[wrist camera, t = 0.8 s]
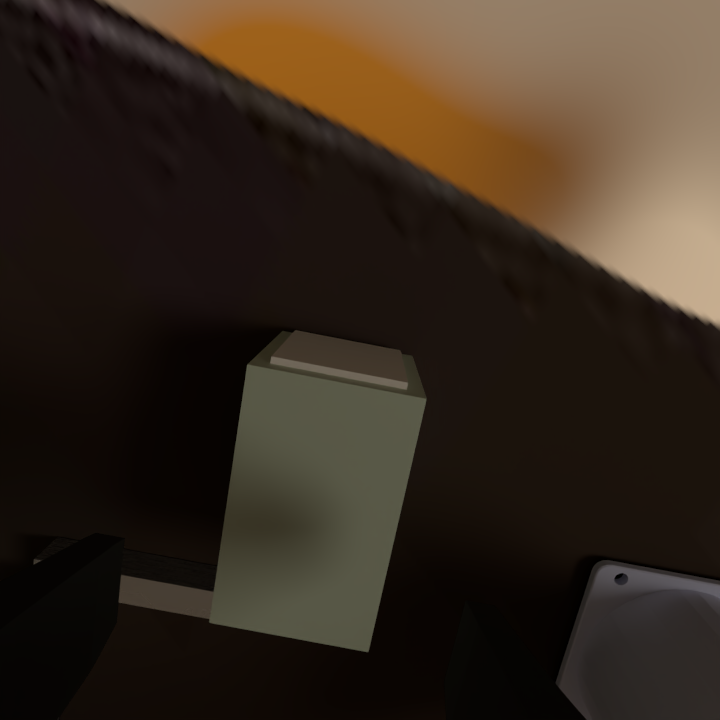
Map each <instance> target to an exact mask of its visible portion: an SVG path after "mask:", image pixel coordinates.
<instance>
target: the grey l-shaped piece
mask: <svg viewBox="0 0 720 720" xmlns="http://www.w3.org/2000/svg"><path fill="white" fill-rule="evenodd" d="M76 542H78V541H76V540H71V539H65V538H60V537H57V538H56V539H55V540H54V541H53V542H52V543H51V544H50V545H49V546H48V547H46V548H45V549H44V550H43V551H42V552H41V553H40V554H39V555H38V556H37V557H36V558H35V559H34V564H36V563H38V562H40V561H42V560H44V559H46V558H48V557H49V556H51V555H53V554H55V553H57V552H59V551H61V550H63V549H65V548H66V547H68V546H70V545H72V544H74V543H76ZM216 573H217V566H213V565H207V564H202V563H196V562H191V561H185V560H180V559H175V558H169V557H164V556H158V555H153V554H147V553H142V552H136V551H131V550H125V549H124V551H123V561H122V571H121V582H120V592H119V603H124V604H130V605H135V606H141V607H146V608H152V609H157V610H163V611H168V612H174V613H179V614H185V615H190V616H196V617H201V618H207V619H210V614H211V607H212V600H213V594H214V587H215V580H216ZM59 718H60V717H59ZM59 718H58V719H57V720H59Z"/></svg>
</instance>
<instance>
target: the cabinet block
mask: <svg viewBox="0 0 720 720" xmlns="http://www.w3.org/2000/svg"><path fill="white" fill-rule="evenodd" d="M425 403H426V396H425V393H424V390H423V387H422V384H421V381H420V378H419V375H418V372H417V369H416V366H415V362H414V359H413V356H410V355H405V354H401V350H395V349H390V348H385V347H380V346H375V345H370V344H364V343H359V342H354V341H349V340H344V339H339V338H333V337H328V336H323V335H318V334H313V333H308V332H302V331H297V330H295V331H294V332H293V333H291V332H286V331H282V332H281V333H280V334H279V335H278V336H277V337H276V338H275V339H274V340H273V341H271V342H270V343H269V344H268V345H267V346H266V347H265V348H264V349H263V350H262V351H261V352H260V353H259V354H258V355H257V356H256V357H255V358H254V359H253V360H251V361H250V362H249V363H248V364H247V370H246V377H245V383H244V390H243V397H242V404H241V411H240V417H239V424H238V431H237V438H236V444H235V451H234V458H233V465H232V472H231V478H230V485H229V492H228V499H227V505H226V512H225V519H224V526H223V533H222V539H221V546H220V553H219V560H218V566H217V573H216V580H215V587H214V594H213V600H212V607H211V614H210V621H209V623H213V624H219V625H224V626H230V627H235V628H240V629H246V630H251V631H257V632H262V633H267V634H273V635H278V636H284V637H289V638H294V639H300V640H305V641H311V642H316V643H321V644H327V645H332V646H337V647H343V648H348V649H354V650H359V651H364V652H369V647H370V643H371V639H372V634H373V630H374V626H375V621H376V617H377V612H378V608H379V604H380V599H381V595H382V591H383V586H384V582H385V578H386V573H387V569H388V564H389V560H390V556H391V551H392V547H393V543H394V538H395V534H396V530H397V525H398V521H399V517H400V512H401V508H402V503H403V499H404V495H405V490H406V486H407V482H408V477H409V473H410V469H411V464H412V460H413V455H414V451H415V447H416V442H417V438H418V434H419V429H420V425H421V421H422V416H423V412H424V408H425Z"/></svg>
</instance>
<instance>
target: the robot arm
mask: <svg viewBox="0 0 720 720" xmlns="http://www.w3.org/2000/svg"><path fill="white" fill-rule="evenodd" d="M124 540H125V538H121V537H115V536H110V535H104V534H99V533H95V534H92V535H90V536H88V537H86V538H84V539H82V540H80V541H78V542H76V543H74V544H72V545H70V546H68V547H66V548H65V549H63V550H61V551H59V552H57V553H55V554H53V555H51V556H49V557H48V558H46V559H44V560H42V561H40V562H38V563H36V564H34V565H32V566H30V567H28V568H26V569H24V570H22V571H20V572H19V573H17V574H15V575H13V576H11V577H9V578H7V579H5V580H3V581H1V582H0V720H57V719H58V718H59V717H60V715H61V714H62V712H63V711H64V709H65V708H66V706H67V705H68V704H69V702H70V701H71V699H72V698H73V696H74V695H75V693H76V692H77V690H78V689H79V688H80V686H81V685H82V683H83V682H84V680H85V679H86V677H87V676H88V674H89V673H90V671H91V669H92V668H93V666H94V664H95V662H96V660H97V659H98V657H99V655H100V653H101V651H102V649H103V648H104V646H105V644H106V642H107V640H108V638H109V636H110V634H111V632H112V630H113V628H114V627H115V625H116V623H117V613H118V602H119V592H120V582H121V571H122V561H123V551H124ZM619 573H623V575H622V577H621V578H619V579H614V578H615V576H616V575H618V574H619ZM444 689H445V706H446V720H720V581H718V580H713V579H707V578H702V577H696V576H691V575H686V574H680V573H675V572H669V571H664V570H659V569H653V568H648V567H642V566H637V565H632V564H626V563H621V562H615V561H610V560H602V561H599V562H598V563H596V564H595V565H594V567H593V568H592V571H591V574H590V577H589V580H588V583H587V586H586V590H585V593H584V596H583V599H582V602H581V605H580V608H579V611H578V614H577V617H576V621H575V624H574V627H573V630H572V633H571V636H570V639H569V642H568V645H567V648H566V652H565V655H564V658H563V661H562V664H561V667H560V670H559V673H558V676H557V679H556V683H555V682H554V681H553V680H552V678H551V677H550V676H549V675H548V674H547V672H546V671H545V670H544V669H543V667H542V666H541V665H540V664H539V662H538V661H537V660H536V658H535V657H534V656H533V655H532V653H531V652H530V651H529V649H528V648H527V647H526V646H525V644H524V643H523V642H522V640H521V639H520V638H519V637H518V635H517V634H516V633H515V631H514V630H513V629H512V627H511V626H510V625H509V623H508V622H507V621H506V620H505V618H504V617H503V616H502V615H501V613H500V612H499V611H498V610H497V608H496V607H495V606H493V605H487V604H482V603H476V602H471V601H465V605H464V609H463V613H462V616H461V620H460V624H459V628H458V631H457V635H456V639H455V643H454V646H453V650H452V654H451V658H450V661H449V665H448V669H447V673H446V676H445V680H444Z"/></svg>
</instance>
